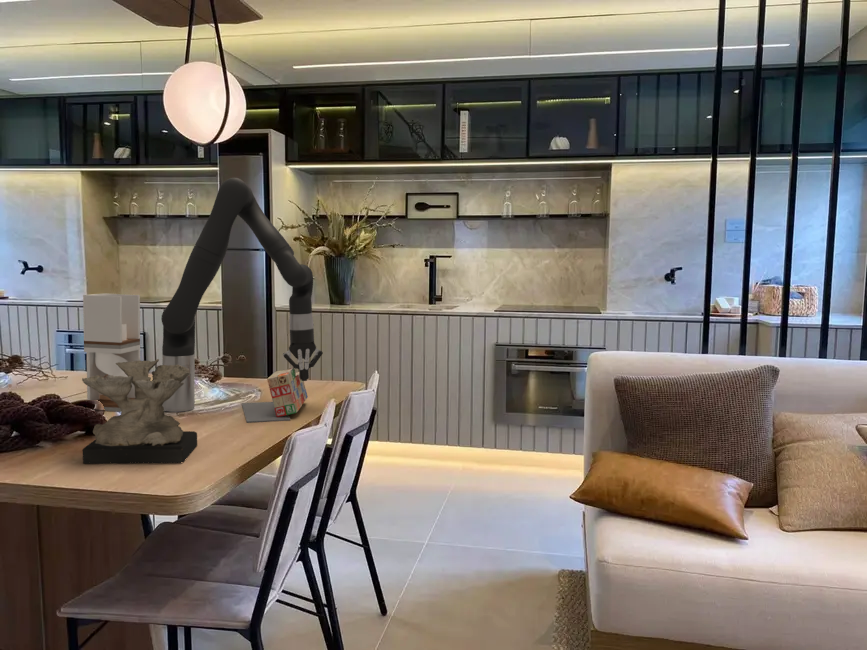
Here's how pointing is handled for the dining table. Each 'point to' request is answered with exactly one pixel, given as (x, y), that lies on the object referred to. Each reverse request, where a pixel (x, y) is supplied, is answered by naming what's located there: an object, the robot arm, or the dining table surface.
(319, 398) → the dining table surface
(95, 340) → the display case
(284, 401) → the stack of blocks
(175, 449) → the coral
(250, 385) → the dining table surface
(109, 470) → the dining table surface
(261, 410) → the mat
